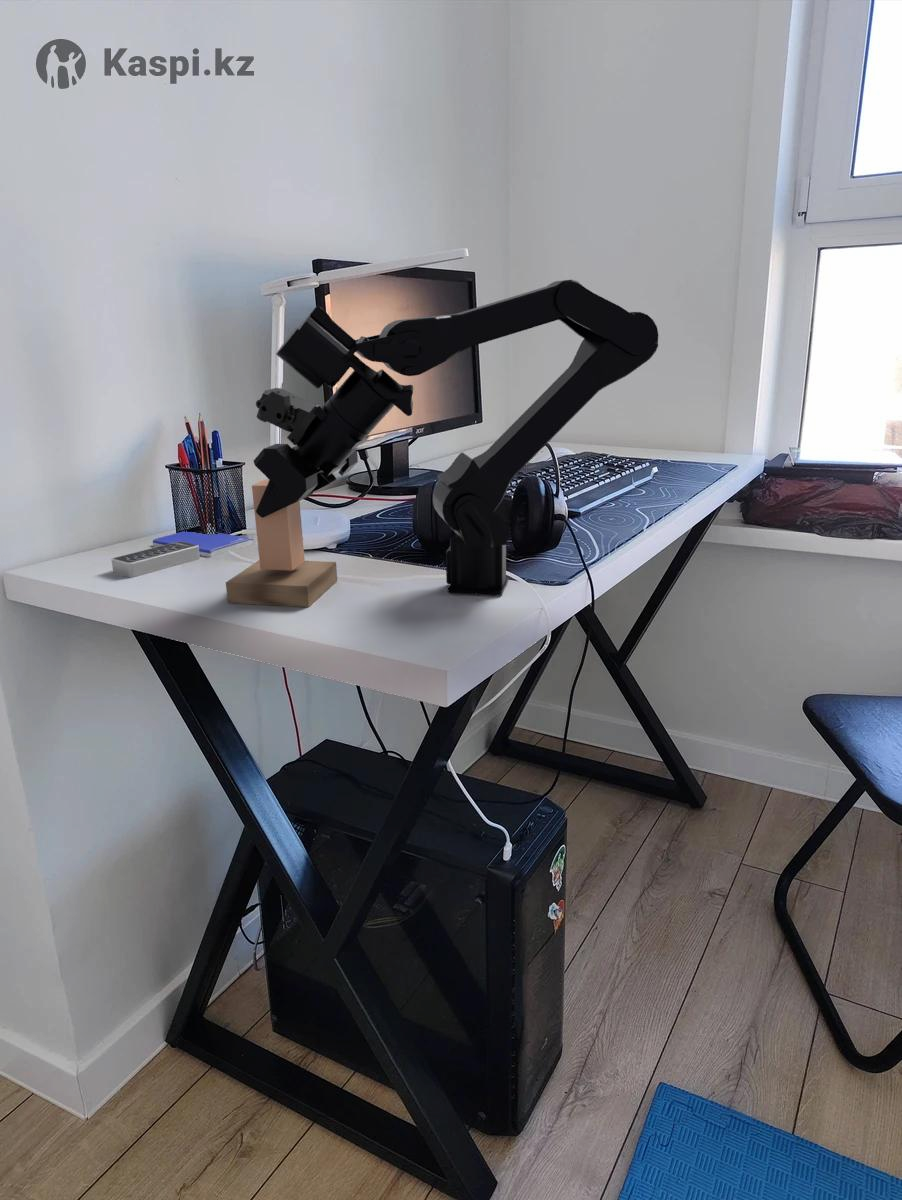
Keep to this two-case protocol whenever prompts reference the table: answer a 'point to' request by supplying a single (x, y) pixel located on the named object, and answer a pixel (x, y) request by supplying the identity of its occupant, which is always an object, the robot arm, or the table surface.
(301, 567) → the plinth
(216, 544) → the hard drive
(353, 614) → the table surface
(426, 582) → the table surface
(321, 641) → the table surface
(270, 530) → the block
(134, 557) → the multiport hub
